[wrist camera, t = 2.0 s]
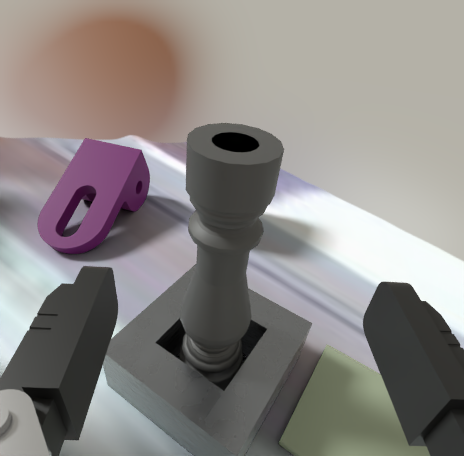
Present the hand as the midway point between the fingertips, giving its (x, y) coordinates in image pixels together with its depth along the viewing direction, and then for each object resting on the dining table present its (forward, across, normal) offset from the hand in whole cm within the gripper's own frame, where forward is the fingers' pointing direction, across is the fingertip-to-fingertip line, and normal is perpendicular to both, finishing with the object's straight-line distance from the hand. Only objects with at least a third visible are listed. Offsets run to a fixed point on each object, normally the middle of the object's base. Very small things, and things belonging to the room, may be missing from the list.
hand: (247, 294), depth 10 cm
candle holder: (+13, 0, -25) cm, 28 cm away
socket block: (+13, 0, -25) cm, 28 cm away
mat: (+8, +14, -25) cm, 30 cm away
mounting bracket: (+37, -19, -24) cm, 48 cm away
